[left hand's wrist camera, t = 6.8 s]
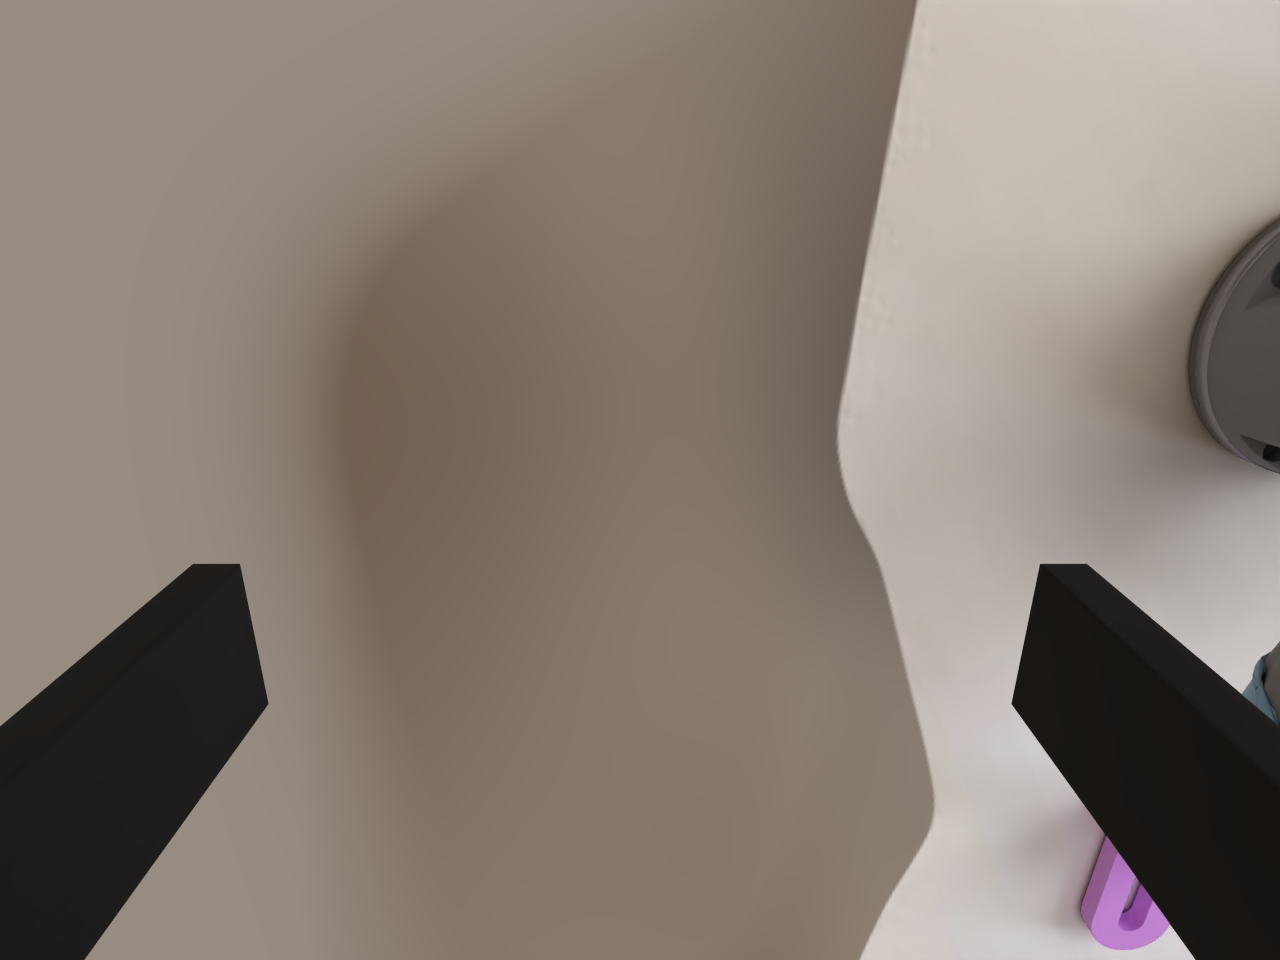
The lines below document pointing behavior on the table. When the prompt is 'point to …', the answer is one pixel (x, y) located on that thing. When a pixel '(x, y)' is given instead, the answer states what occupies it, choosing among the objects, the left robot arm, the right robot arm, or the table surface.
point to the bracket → (1119, 905)
